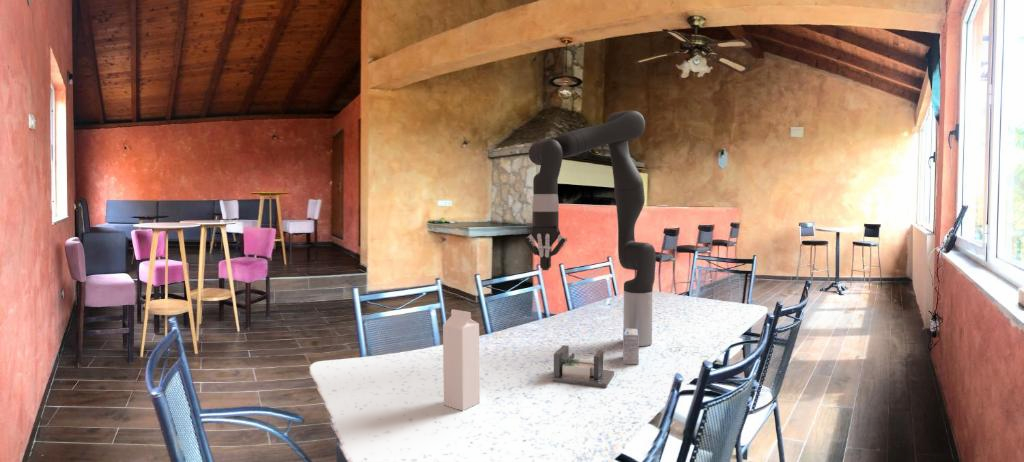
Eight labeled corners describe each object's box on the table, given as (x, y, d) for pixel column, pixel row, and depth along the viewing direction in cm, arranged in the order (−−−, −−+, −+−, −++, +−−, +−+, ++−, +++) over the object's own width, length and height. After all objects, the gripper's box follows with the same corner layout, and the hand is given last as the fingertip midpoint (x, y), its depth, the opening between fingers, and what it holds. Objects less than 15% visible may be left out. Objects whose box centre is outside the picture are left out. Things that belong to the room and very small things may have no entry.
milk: (460, 397, 129) (460, 307, 128) (480, 403, 125) (479, 309, 124) (443, 405, 124) (442, 311, 123) (462, 411, 120) (461, 314, 119)
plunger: (569, 367, 147) (569, 347, 147) (603, 371, 144) (603, 350, 143) (563, 374, 141) (563, 353, 141) (598, 378, 138) (598, 356, 138)
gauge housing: (564, 368, 150) (564, 344, 150) (614, 374, 145) (614, 349, 145) (552, 381, 140) (552, 354, 140) (605, 388, 135) (606, 360, 134)
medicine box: (638, 365, 154) (639, 335, 153) (622, 364, 154) (623, 334, 154) (637, 357, 161) (638, 328, 161) (622, 356, 162) (623, 327, 162)
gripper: (571, 209, 155) (571, 269, 156) (528, 209, 160) (528, 267, 161) (564, 210, 148) (563, 272, 149) (519, 210, 153) (519, 270, 154)
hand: (545, 269), depth 155 cm, fingers closed
